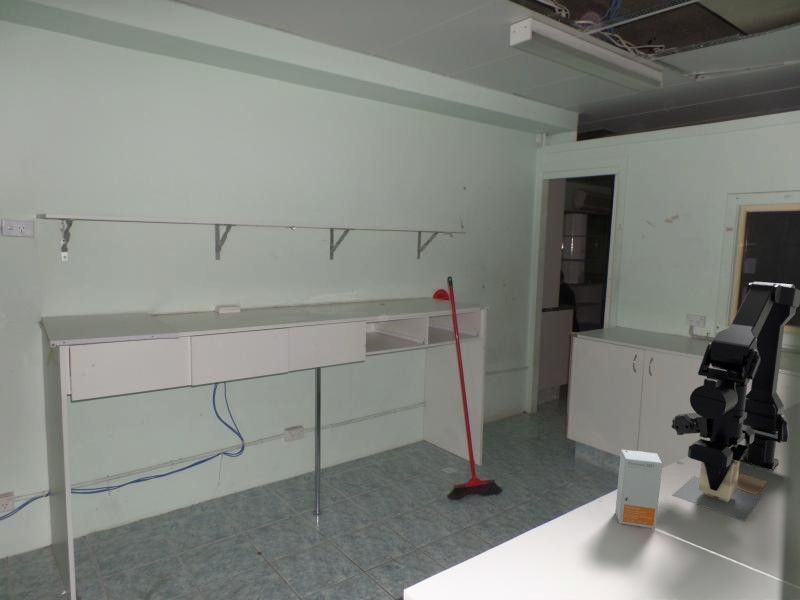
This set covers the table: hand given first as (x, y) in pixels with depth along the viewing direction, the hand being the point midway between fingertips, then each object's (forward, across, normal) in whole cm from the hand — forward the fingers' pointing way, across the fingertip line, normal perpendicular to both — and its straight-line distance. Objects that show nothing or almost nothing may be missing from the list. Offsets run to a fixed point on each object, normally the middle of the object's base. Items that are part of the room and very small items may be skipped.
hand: (718, 485), depth 100 cm
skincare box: (+3, +20, -7) cm, 21 cm away
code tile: (+2, 0, 0) cm, 2 cm away
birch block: (+1, 0, 0) cm, 1 cm away
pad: (+2, -10, +1) cm, 11 cm away
